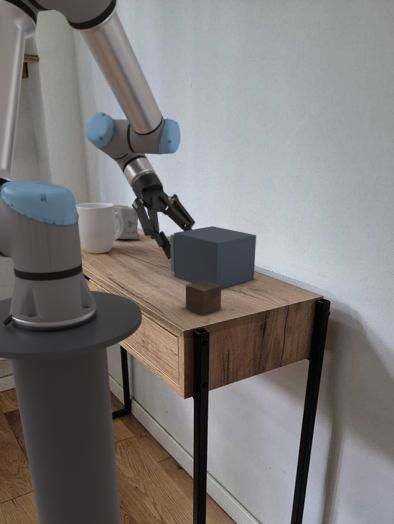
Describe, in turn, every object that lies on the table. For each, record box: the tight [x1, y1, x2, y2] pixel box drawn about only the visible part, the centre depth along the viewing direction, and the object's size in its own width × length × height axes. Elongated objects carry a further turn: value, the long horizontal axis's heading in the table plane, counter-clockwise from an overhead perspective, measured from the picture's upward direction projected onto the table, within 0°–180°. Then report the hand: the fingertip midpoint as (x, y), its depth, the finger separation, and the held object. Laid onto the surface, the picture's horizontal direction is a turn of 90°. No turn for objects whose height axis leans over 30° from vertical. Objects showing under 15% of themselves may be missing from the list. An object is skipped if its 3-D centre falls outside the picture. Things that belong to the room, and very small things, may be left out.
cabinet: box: [173, 225, 257, 290], centre depth 115 cm, size 15×13×11 cm
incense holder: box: [114, 204, 141, 240], centre depth 156 cm, size 10×8×10 cm
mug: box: [76, 202, 123, 255], centre depth 140 cm, size 15×11×13 cm
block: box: [185, 280, 222, 316], centre depth 96 cm, size 5×5×5 cm
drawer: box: [166, 233, 175, 273], centre depth 118 cm, size 19×11×9 cm, turn 42°
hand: (184, 253), depth 122 cm, fingers closed on drawer, 8 cm apart
